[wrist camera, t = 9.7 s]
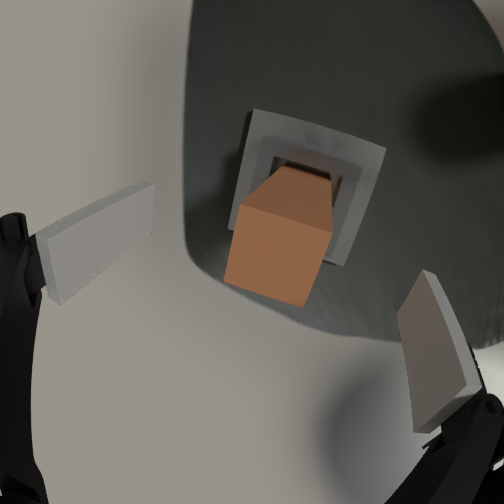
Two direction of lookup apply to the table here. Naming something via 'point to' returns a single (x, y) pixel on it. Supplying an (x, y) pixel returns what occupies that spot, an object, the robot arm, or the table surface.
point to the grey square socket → (316, 158)
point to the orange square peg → (282, 235)
